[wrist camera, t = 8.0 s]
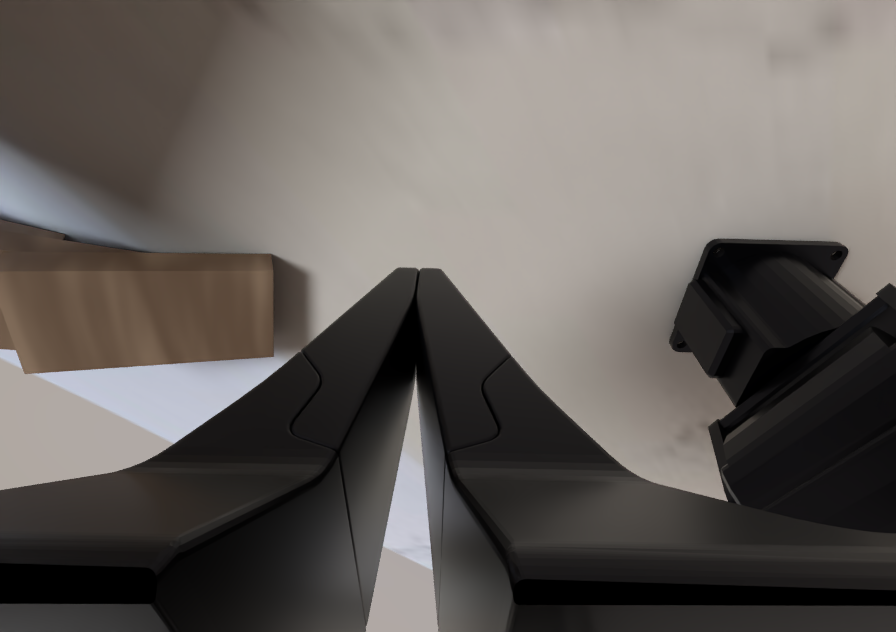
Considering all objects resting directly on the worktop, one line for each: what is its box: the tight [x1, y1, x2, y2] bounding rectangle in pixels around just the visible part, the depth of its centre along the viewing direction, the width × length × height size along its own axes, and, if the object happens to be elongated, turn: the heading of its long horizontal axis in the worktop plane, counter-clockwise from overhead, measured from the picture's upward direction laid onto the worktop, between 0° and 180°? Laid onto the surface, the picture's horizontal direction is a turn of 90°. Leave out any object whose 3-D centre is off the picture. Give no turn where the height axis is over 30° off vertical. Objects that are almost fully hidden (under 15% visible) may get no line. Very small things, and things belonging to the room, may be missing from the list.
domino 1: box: [0, 252, 274, 374], centre depth 22 cm, size 2×5×10 cm
